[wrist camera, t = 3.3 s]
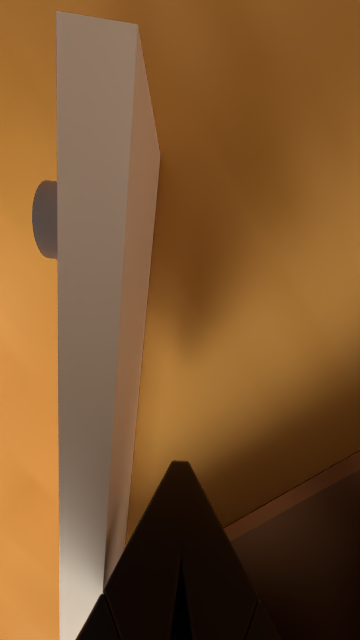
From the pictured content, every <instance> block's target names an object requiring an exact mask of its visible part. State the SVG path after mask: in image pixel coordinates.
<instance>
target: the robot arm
mask: <svg viewBox="0 0 360 640" xmlns="http://www.w3.org/2000/svg"><path fill="white" fill-rule="evenodd" d="M75 640H282V638H281V636H280V635H279V633H278V631H277V629H276V627H275V626H274V624H273V622H272V620H271V618H270V616H269V614H268V612H267V610H266V608H265V606H264V605H263V603H262V601H259V595H258V593H257V592H256V590H255V588H254V586H253V584H252V582H251V580H250V578H249V576H248V574H247V572H246V570H245V569H244V567H243V565H242V563H241V561H240V559H239V557H238V555H237V553H236V551H235V549H234V548H233V546H232V544H231V542H230V540H229V538H228V536H227V534H226V532H225V530H224V528H223V527H222V525H221V523H220V521H219V519H218V517H217V515H216V513H215V511H214V509H213V507H212V506H211V504H210V502H209V500H208V498H207V496H206V494H205V492H204V490H203V488H202V486H201V484H200V483H199V481H198V479H197V477H196V475H195V473H194V471H193V469H192V467H191V465H190V464H189V462H188V461H176V460H174V461H172V462H171V464H170V465H169V467H168V469H167V471H166V473H165V475H164V477H163V478H162V480H161V482H160V484H159V486H158V488H157V490H156V492H155V493H154V495H153V497H152V499H151V501H150V503H149V505H148V507H147V508H146V510H145V512H144V514H143V516H142V518H141V520H140V521H139V523H138V525H137V527H136V529H135V531H134V533H133V535H132V536H131V538H130V540H129V542H128V544H127V546H126V548H125V549H124V551H123V553H122V555H121V557H120V559H119V561H118V563H117V564H116V566H115V568H114V570H113V572H112V574H111V576H110V577H109V579H108V581H107V583H106V585H105V587H104V589H103V594H101V595H100V596H99V598H98V599H97V601H96V603H95V605H94V607H93V609H92V611H91V613H90V614H89V616H88V618H87V620H86V622H85V623H84V625H83V627H82V629H81V630H80V632H79V634H78V636H77V637H76V639H75Z"/></svg>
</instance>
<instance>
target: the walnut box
mask: <svg viewBox="0 0 360 640" xmlns="http://www.w3.org/2000/svg"><path fill="white" fill-rule="evenodd" d="M224 530H225V532H226V534H227V536H228V538H229V540H230V542H231V544H232V546H233V548H234V549H235V551H236V553H237V555H238V557H239V559H240V561H241V563H242V565H243V567H244V569H245V570H246V572H247V574H248V576H249V578H250V580H251V582H252V584H253V586H254V588H255V590H256V592H257V593H258V595H259V601H262V603H263V605H264V606H265V608H266V610H267V612H268V614H269V616H270V618H271V620H272V622H273V624H274V626H275V627H276V629H277V631H278V633H279V635H280V636H281V638H282V640H360V451H359V452H357V453H355V454H353V455H352V456H350V457H348V458H346V459H345V460H343V461H341V462H339V463H338V464H336V465H334V466H332V467H331V468H329V469H327V470H325V471H324V472H322V473H320V474H318V475H317V476H315V477H313V478H311V479H310V480H308V481H306V482H304V483H303V484H301V485H299V486H297V487H296V488H294V489H292V490H290V491H288V492H287V493H285V494H283V495H281V496H280V497H278V498H276V499H274V500H273V501H271V502H269V503H267V504H266V505H264V506H262V507H260V508H259V509H257V510H255V511H253V512H252V513H250V514H248V515H246V516H245V517H243V518H241V519H239V520H238V521H236V522H234V523H232V524H231V525H229V526H227V527H225V528H224Z"/></svg>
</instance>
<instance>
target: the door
mask: <svg viewBox="0 0 360 640" xmlns="http://www.w3.org/2000/svg"><path fill="white" fill-rule="evenodd" d="M56 66H57V182H55V181H48V180H46V181H43V182H42V183H41V184H40V185H39V187H38V188H37V191H36V193H35V197H34V201H33V210H32V223H33V232H34V237H35V241H36V243H37V246H38V248H39V250H40V252H41V253H42V254H43V255H44V256H45V257H47V258H53V259H58V415H59V590H60V640H75V639H76V637H77V636H78V634H79V632H80V630H81V629H82V627H83V625H84V623H85V622H86V620H87V618H88V616H89V614H90V613H91V611H92V609H93V607H94V605H95V603H96V601H97V599H98V598H99V596H100V595H101V594H103V589H104V587H105V585H106V583H107V581H108V579H109V577H110V576H111V574H112V572H113V570H114V568H115V566H116V564H117V563H118V561H119V559H120V557H121V555H122V553H123V551H124V549H125V542H126V531H127V520H128V509H129V498H130V487H131V476H132V465H133V454H134V443H135V432H136V421H137V410H138V399H139V388H140V377H141V366H142V355H143V344H144V333H145V322H146V311H147V300H148V289H149V278H150V267H151V256H152V245H153V234H154V223H155V212H156V201H157V190H158V179H159V168H160V157H161V155H160V149H159V143H158V138H157V132H156V126H155V120H154V115H153V109H152V103H151V97H150V91H149V86H148V80H147V74H146V68H145V62H144V57H143V51H142V45H141V39H140V34H139V28H138V24H133V23H127V22H121V21H116V20H110V19H104V18H98V17H92V16H86V15H80V14H74V13H68V12H62V11H56Z"/></svg>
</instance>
